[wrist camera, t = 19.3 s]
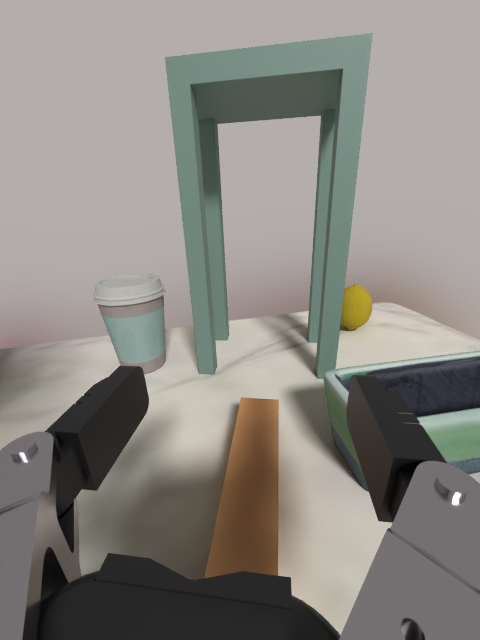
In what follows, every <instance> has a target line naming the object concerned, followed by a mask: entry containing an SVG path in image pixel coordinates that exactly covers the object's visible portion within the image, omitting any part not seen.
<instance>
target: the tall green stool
mask: <svg viewBox="0 0 480 640" xmlns="http://www.w3.org/2000/svg"><path fill="white" fill-rule="evenodd" d="M371 42H372V33H371V34H362V35H354V36H345V37H337V38H328V39H320V40H311V41H302V42H294V43H285V44H276V45H268V46H259V47H251V48H243V49H233V50H225V51H216V52H208V53H200V54H191V55H182V56H173V57H165V61H166V71H167V80H168V89H169V99H170V108H171V117H172V126H173V136H174V144H175V154H176V164H177V173H178V182H179V192H180V201H181V210H182V220H183V229H184V238H185V247H186V256H187V266H188V275H189V285H190V294H191V303H192V311H193V322H194V331H195V341H196V350H197V359H198V369H199V374H214V373H215V371H216V368H217V357H216V344H215V340H227V339H228V336H229V325H228V307H227V290H226V271H225V254H224V236H223V220H222V219H223V217H222V200H221V184H220V165H219V146H218V129H217V124H220V123H233V122H245V121H257V120H269V119H282V118H294V117H307V116H319V115H321V126H320V142H319V158H318V174H317V190H316V207H315V222H314V238H313V255H312V271H311V286H310V302H309V303H310V304H309V318H308V334H307V337H308V341H309V342H317V355H316V367H315V370H316V374H317V378H320V379H324V373H325V372H326V371H329V370H334V369H335V368H336V359H337V350H338V341H339V332H340V323H341V314H342V305H343V296H344V285H345V277H346V268H347V259H348V250H349V241H350V232H351V222H352V213H353V205H354V196H355V187H356V178H357V169H358V168H357V167H358V160H359V150H360V141H361V132H362V123H363V113H364V105H365V95H366V86H367V78H368V68H369V60H370V51H371Z"/></svg>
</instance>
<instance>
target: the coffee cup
mask: <svg viewBox="0 0 480 640" xmlns="http://www.w3.org/2000/svg"><path fill="white" fill-rule="evenodd" d="M164 293H165V290H164V286H163V284H162V283H161V281H160V279H159V277H158V276H157V275H153V274H130V275H121V276H115V277H110V278H107V279H104V280H101V281H98V282H97V283H96V285H95V293H94V302H95V303H97V304H98V306H99V309H100V311H101V314H102V317H103V320H104V322H105V325H106V327H107V330H108V333H109V336H110V338H111V341H112V343H113V346H114V349H115V351H116V354H117V357H118V359H119V362H120V364H121V366H140V367H142V369H143V372H144V374H146V373H150V372H152V371H155V370H157V369H158V368H160V367H161V366H162V365H163V364H164V363H165V330H164V297H163V294H164Z"/></svg>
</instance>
